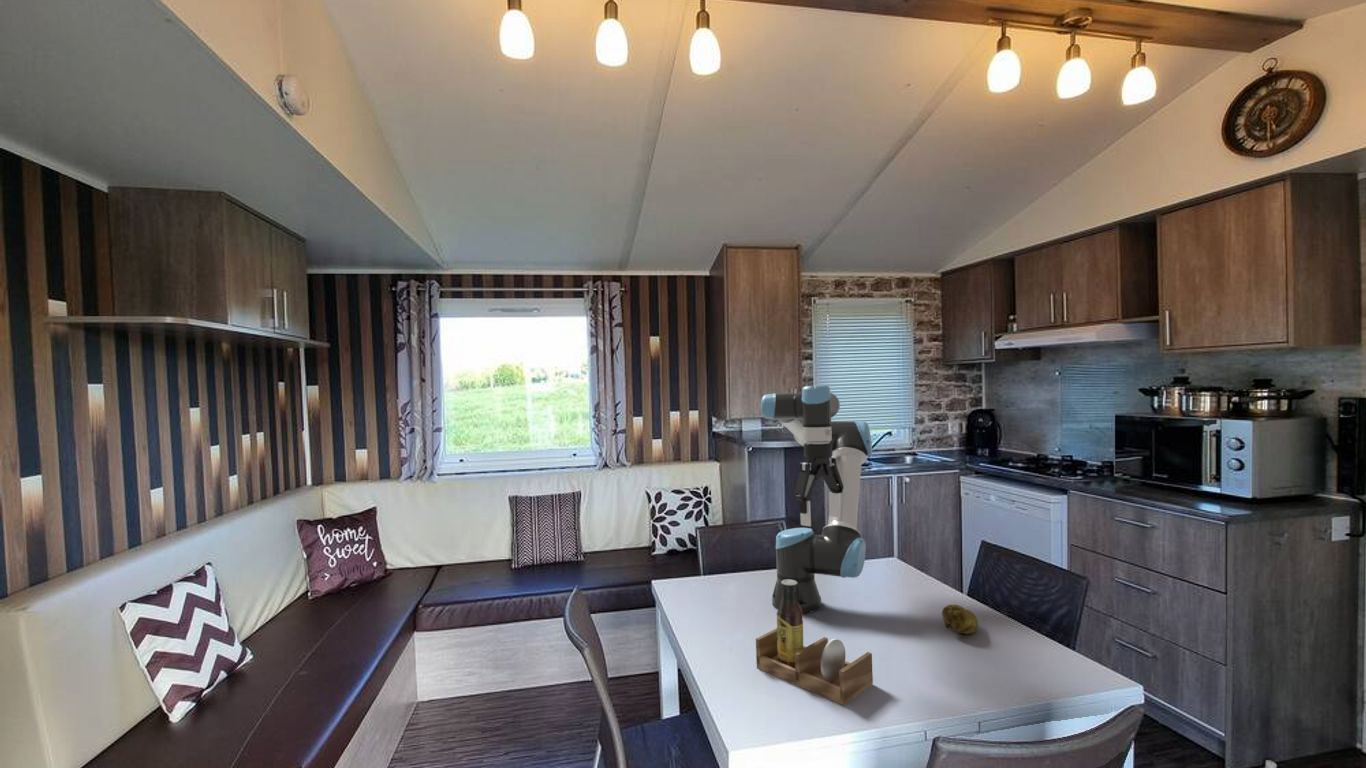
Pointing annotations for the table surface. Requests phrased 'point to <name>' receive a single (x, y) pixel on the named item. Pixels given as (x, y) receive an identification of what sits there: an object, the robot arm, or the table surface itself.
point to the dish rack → (818, 668)
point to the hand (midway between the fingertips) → (820, 521)
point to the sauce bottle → (789, 624)
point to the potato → (959, 619)
